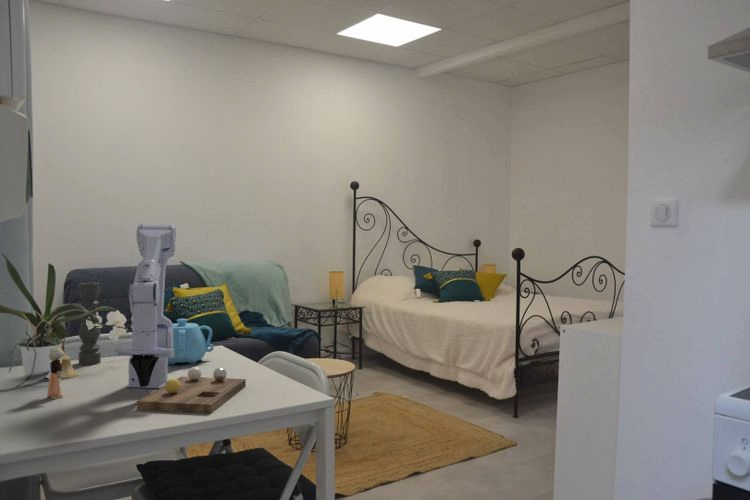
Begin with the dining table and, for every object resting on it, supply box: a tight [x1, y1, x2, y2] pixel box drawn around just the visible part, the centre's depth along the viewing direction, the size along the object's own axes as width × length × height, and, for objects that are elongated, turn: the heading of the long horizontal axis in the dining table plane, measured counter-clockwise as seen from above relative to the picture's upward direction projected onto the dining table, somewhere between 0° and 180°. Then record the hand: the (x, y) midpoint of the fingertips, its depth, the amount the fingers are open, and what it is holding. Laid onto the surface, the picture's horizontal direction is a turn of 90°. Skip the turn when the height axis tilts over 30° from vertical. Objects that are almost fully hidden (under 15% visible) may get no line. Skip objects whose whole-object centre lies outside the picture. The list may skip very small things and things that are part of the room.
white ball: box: [187, 366, 202, 380], centre depth 159 cm, size 4×4×4 cm
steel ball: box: [212, 367, 228, 381], centre depth 158 cm, size 4×4×4 cm
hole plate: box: [136, 376, 247, 414], centre depth 150 cm, size 18×24×2 cm
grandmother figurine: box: [46, 346, 64, 400], centre depth 149 cm, size 8×4×13 cm, turn 49°
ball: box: [165, 378, 180, 393], centre depth 146 cm, size 4×4×4 cm
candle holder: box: [78, 282, 102, 366], centre depth 187 cm, size 6×6×25 cm
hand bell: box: [61, 326, 79, 381], centre depth 170 cm, size 8×8×16 cm
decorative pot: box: [168, 318, 215, 366], centre depth 191 cm, size 16×16×14 cm
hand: (144, 385), depth 147 cm, fingers closed
